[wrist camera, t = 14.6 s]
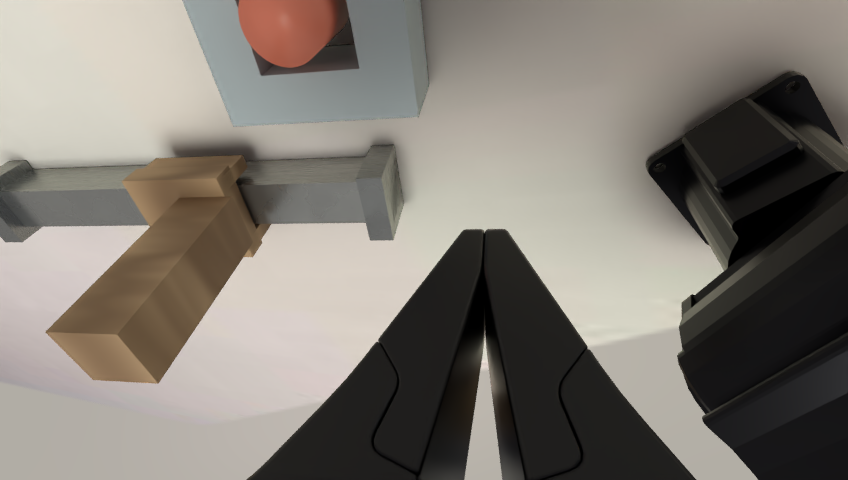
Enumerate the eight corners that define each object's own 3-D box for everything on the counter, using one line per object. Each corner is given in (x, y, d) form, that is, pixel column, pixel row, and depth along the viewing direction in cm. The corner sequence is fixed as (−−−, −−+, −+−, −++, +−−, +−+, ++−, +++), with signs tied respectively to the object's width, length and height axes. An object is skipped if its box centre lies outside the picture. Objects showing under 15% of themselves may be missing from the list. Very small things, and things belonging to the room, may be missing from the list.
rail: (393, 144, 22) (381, 178, 20) (403, 204, 24) (393, 240, 22) (9, 161, 26) (-42, 190, 24) (47, 210, 28) (5, 242, 26)
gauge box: (405, -148, 15) (385, -154, 12) (429, 84, 20) (418, 116, 17) (190, -114, 16) (130, -113, 14) (262, 95, 21) (229, 126, 19)
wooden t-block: (248, 151, 22) (99, 314, 14) (278, 226, 25) (171, 398, 17) (153, 155, 23) (-40, 310, 15) (193, 227, 26) (52, 390, 18)
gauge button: (341, -46, 16) (308, -29, 13) (356, 35, 18) (330, 64, 15) (271, -37, 17) (224, -20, 14) (292, 40, 18) (255, 70, 16)
